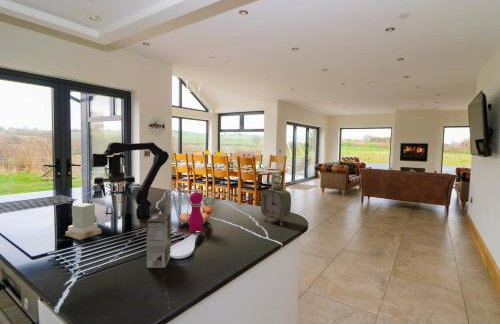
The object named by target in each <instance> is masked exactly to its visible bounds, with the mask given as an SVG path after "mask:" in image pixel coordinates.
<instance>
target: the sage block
mask: <svg viewBox="0 0 500 324" xmlns="http://www.w3.org/2000/svg"><path fill="white" fill-rule="evenodd" d="M95 208H96V207H95V204H94V203H90V202H89V203H88V202H83V203H82V202H81V203H78V204H72V207H71V209H72V225H73V226H77V227H82V228H83V227H86V226H89V225H93V224H95V223H96V221H95V219H96V218H95V217H96V216H95Z"/></svg>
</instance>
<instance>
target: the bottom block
mask: <svg viewBox="0 0 500 324" xmlns="http://www.w3.org/2000/svg"><path fill="white" fill-rule="evenodd" d="M99 234H102V228H99V227H98V229H95V230H92V231H90V232H87V233H84V234H79V233H72V232H68V230H67V231H65V235H64V236H65V237H69V238H73V239H75V240H79V241H80V240H83V239H87V238H90V237H94V236H97V235H99Z"/></svg>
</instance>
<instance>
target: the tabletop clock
mask: <svg viewBox="0 0 500 324" xmlns="http://www.w3.org/2000/svg"><path fill="white" fill-rule="evenodd" d="M274 178H278V179H280V180H281V181H280V182H278V180H277V181H273V179H274ZM271 182H272V183H273V185H272V187H271V188H269V189H265V190H262V192H261V197H260V208H261V209H260V211H261V214H262V215H263V216H265V217H264V218H263V221H264V222H267V220H268V219H267V218H271V219H276V222H279V226H283V225H284V223H283V222H282V219H283V218H285V217H288V216H290V213H291V209H292V208H291V207H292V194H291V192H289V191H288V190H286V189H282V186H281V184H282V183H283V178H282V177H281V176H278V175H275V176H272V177H271Z"/></svg>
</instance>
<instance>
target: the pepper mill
mask: <svg viewBox="0 0 500 324" xmlns="http://www.w3.org/2000/svg"><path fill="white" fill-rule="evenodd" d="M203 198H204V197H203V195H202V193H200V192H199V190H198V189H196V188H195V189H194V192H192V193H191V194H190V195H189V201H190V207H191V213H190V216H189V217H188V221H187V224H188V226H189V230H188V231H189V233H193V232H196V231H202V232H203V231H204V229H203V225H204V223H205V220H204V217H203V214H202V211H201V210H202V209H201V207H202V201H203ZM193 234H194V233H193Z"/></svg>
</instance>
